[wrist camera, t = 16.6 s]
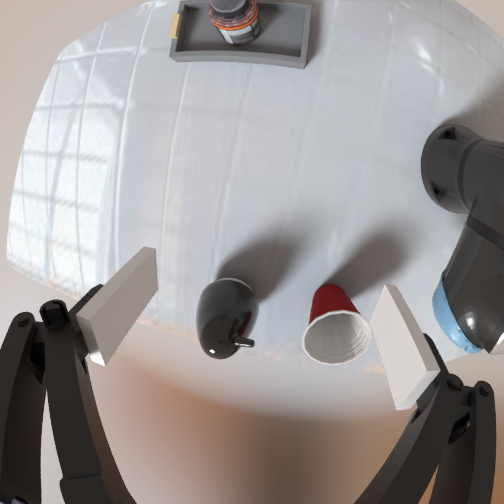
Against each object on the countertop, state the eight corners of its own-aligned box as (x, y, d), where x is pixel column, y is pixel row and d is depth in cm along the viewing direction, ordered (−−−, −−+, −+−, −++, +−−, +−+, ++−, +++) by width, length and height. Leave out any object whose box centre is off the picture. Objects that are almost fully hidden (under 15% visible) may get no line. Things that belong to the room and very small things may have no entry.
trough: (309, 13, 28) (312, 1, 23) (303, 69, 32) (306, 61, 28) (186, 9, 28) (177, -2, 24) (176, 62, 33) (165, 55, 28)
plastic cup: (315, 261, 45) (326, 303, 34) (366, 283, 46) (387, 325, 35) (287, 309, 49) (288, 356, 38) (336, 326, 50) (347, 372, 39)
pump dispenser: (267, 311, 50) (262, 373, 36) (215, 318, 52) (196, 378, 38) (253, 263, 46) (242, 321, 32) (197, 274, 48) (168, 329, 34)
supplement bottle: (221, 16, 28) (202, -17, 18) (261, 14, 28) (255, -22, 17) (220, 48, 31) (200, 21, 20) (261, 46, 30) (255, 16, 20)
